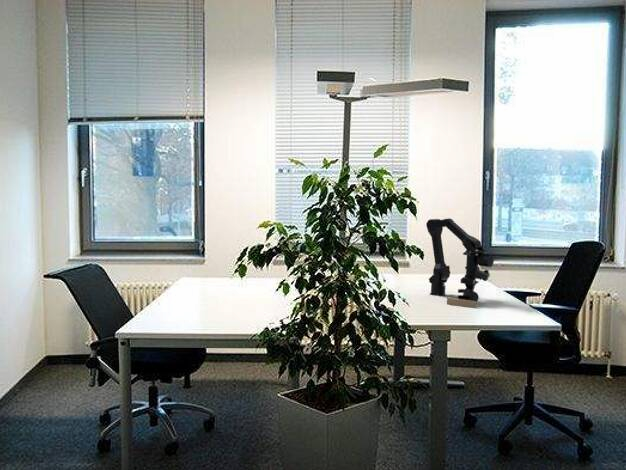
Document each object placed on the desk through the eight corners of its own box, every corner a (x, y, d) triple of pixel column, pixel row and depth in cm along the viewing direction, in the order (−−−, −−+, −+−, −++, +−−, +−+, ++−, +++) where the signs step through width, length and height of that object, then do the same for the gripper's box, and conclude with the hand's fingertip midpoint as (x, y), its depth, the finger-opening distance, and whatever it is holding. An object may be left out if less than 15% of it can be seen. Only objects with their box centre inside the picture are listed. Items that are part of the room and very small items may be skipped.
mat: (446, 304, 313) (447, 298, 312) (456, 299, 326) (456, 293, 326) (475, 308, 306) (475, 301, 306) (483, 302, 319) (484, 296, 319)
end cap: (478, 305, 312) (479, 291, 311) (464, 305, 311) (464, 291, 310) (470, 301, 322) (471, 287, 321) (457, 301, 321) (457, 287, 320)
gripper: (483, 268, 310) (482, 300, 311) (493, 263, 326) (491, 294, 327) (460, 266, 315) (459, 298, 316) (471, 261, 331) (469, 291, 333)
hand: (470, 295), depth 323 cm, fingers closed
